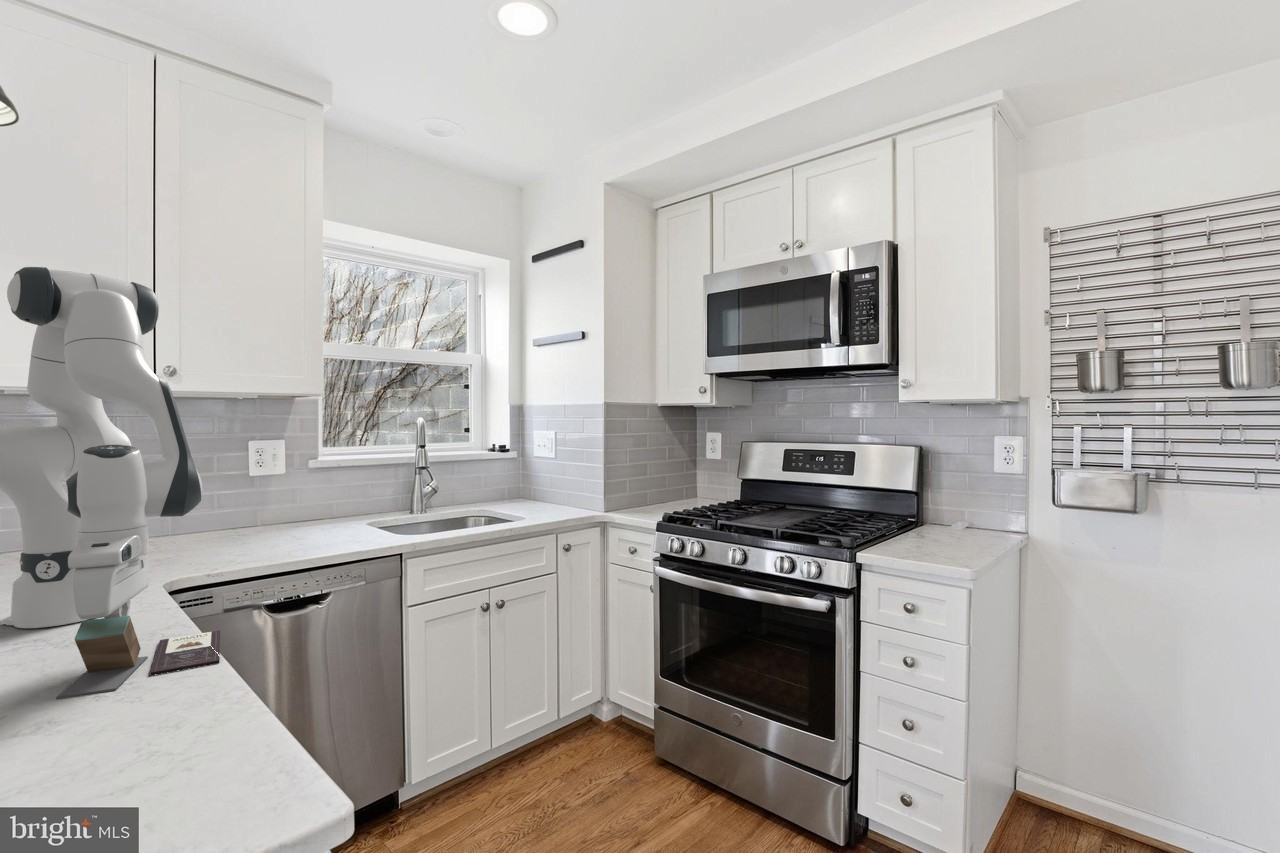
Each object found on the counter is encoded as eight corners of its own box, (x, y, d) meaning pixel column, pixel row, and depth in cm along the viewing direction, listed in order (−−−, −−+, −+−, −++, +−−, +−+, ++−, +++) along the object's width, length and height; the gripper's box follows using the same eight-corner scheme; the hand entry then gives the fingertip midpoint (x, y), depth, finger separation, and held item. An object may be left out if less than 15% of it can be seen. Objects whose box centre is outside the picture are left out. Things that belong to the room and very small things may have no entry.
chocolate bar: (150, 672, 101) (160, 639, 116) (150, 678, 101) (160, 645, 116) (219, 660, 106) (220, 630, 121) (219, 665, 106) (220, 635, 121)
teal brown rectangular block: (95, 654, 104) (82, 620, 100) (140, 648, 107) (129, 615, 102) (88, 672, 102) (74, 639, 98) (134, 666, 104) (123, 633, 100)
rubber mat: (95, 664, 106) (95, 662, 106) (147, 657, 108) (147, 656, 108) (56, 698, 93) (56, 696, 93) (116, 690, 95) (116, 688, 95)
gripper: (114, 537, 113) (117, 616, 114) (62, 560, 94) (65, 654, 95) (158, 534, 116) (161, 611, 116) (115, 555, 97) (118, 648, 97)
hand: (117, 631), depth 105 cm, fingers closed
